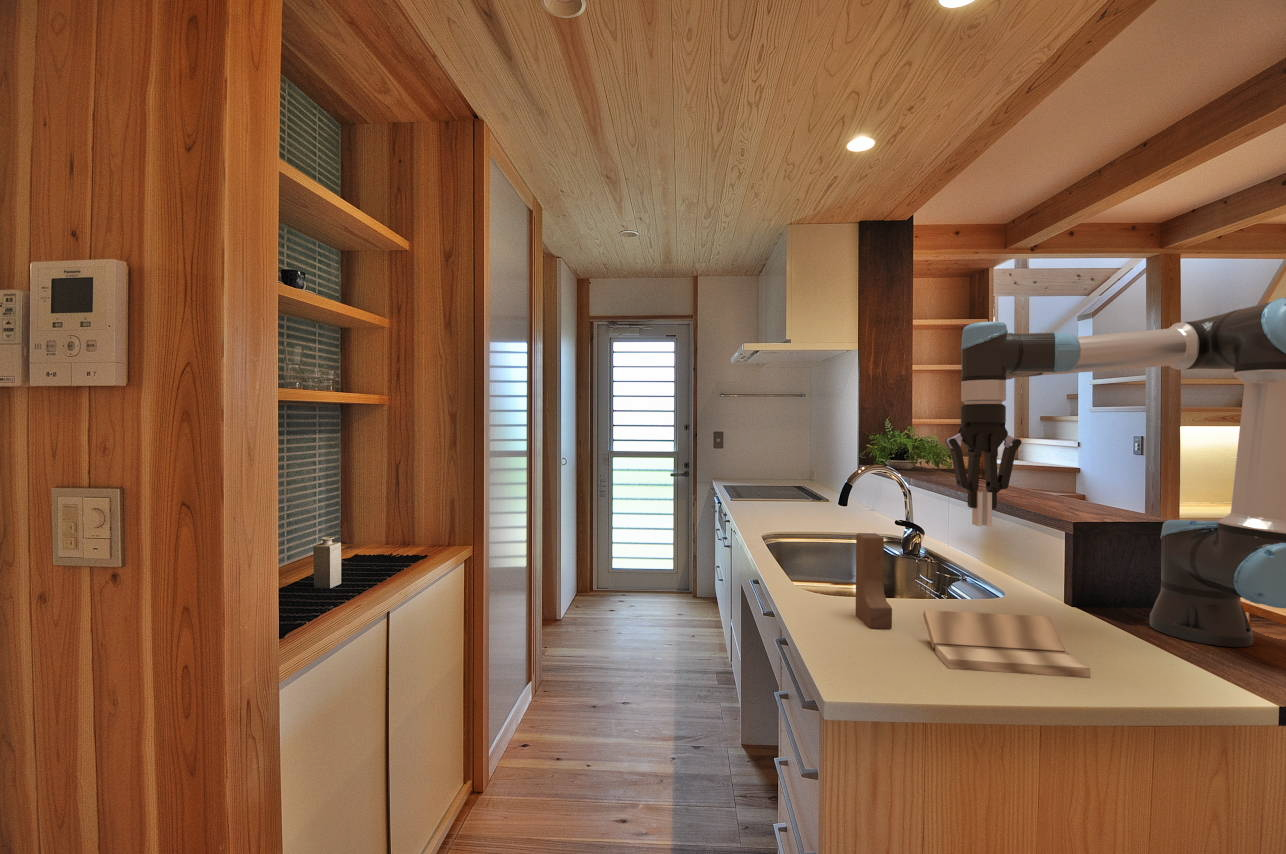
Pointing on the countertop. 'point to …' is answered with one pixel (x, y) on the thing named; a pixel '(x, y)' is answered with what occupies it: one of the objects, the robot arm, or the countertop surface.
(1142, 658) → the countertop surface
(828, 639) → the countertop surface
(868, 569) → the wooden block
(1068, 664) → the laid board
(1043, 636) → the board
